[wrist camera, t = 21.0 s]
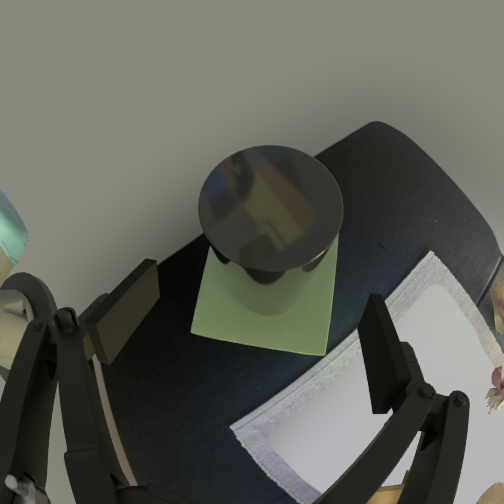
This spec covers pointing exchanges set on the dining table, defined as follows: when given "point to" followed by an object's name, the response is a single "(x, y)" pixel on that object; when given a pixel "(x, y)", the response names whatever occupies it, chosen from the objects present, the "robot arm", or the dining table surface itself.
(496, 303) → the flower
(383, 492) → the low shelf
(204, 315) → the green step stool
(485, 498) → the teacup with lid
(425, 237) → the dining table surface
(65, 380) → the robot arm
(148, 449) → the dining table surface
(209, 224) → the dark grey cylinder
